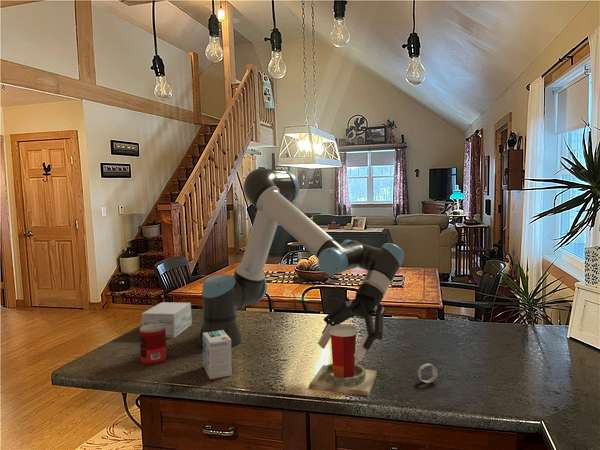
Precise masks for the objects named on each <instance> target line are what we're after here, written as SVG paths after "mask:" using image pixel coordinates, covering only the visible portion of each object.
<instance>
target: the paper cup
mask: <svg viewBox="0 0 600 450" xmlns="http://www.w3.org/2000/svg"><path fill="white" fill-rule="evenodd" d="M329 333H330V334H331V338H330V342H331V345H330V346H331V357H332V363H333V373H334V376H335V377H342V378H348V377H354V367H355V364H356V358H355V357H354V354H355V352H356V342H357V341H356V340H357V335H358V330H357V329H356V327H355V326H354V325H351V324H346V323H344V324H343V323H341V324H338V325H334V326H332V328H331V329H330V331H329Z"/></svg>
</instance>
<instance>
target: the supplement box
mask: <svg viewBox="0 0 600 450" xmlns="http://www.w3.org/2000/svg"><path fill="white" fill-rule="evenodd" d="M148 324H164V325H165V330H166V338H177V337H178V336H179V334H182V333H183V332H185V330H187V329H188V328H189V327H190V326H192V324H193V322H192V303H191V302H163V301H162V302H160V303H157V304H156V305H154V306H152V307H151V308H149V309H147V310H145V311H144V312H141V325H142V326H144V325H148ZM142 326H141V327H142Z"/></svg>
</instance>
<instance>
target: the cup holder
mask: <svg viewBox="0 0 600 450" xmlns="http://www.w3.org/2000/svg"><path fill="white" fill-rule="evenodd" d="M377 373H378V371H377V370H374V369H366V368H364V367H363V366H362V365H360V364H357V363H355V367H354V377H348V378H342V377H335V376H334V373H333V362H332V363H330V364H326V365H325V364H322V365H321V367H320V368H319V370H318V371H317V372H316V374H315V375H314V377H313V378H312V380H311V381H310V383H309V386H308V387H309V389H311V390H318V391H326V392H335V393H341V394H342V393H345V394H350V395H359V396H365V397H366V396H367V397H369V396H370V393H371V391H372V390H373V389H372V388H373V386H374V383H375V380H376V377H377Z"/></svg>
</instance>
